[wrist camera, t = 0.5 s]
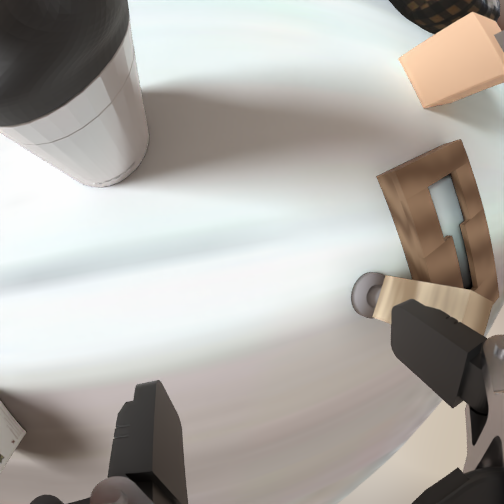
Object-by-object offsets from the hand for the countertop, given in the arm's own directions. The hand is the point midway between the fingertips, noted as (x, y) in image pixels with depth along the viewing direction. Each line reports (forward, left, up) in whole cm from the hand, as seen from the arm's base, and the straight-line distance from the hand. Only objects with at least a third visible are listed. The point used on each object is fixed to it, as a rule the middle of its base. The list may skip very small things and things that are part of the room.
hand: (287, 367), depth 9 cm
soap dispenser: (-10, +41, -21) cm, 47 cm away
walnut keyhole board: (+11, +30, -20) cm, 38 cm away
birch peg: (+10, +15, -20) cm, 27 cm away
